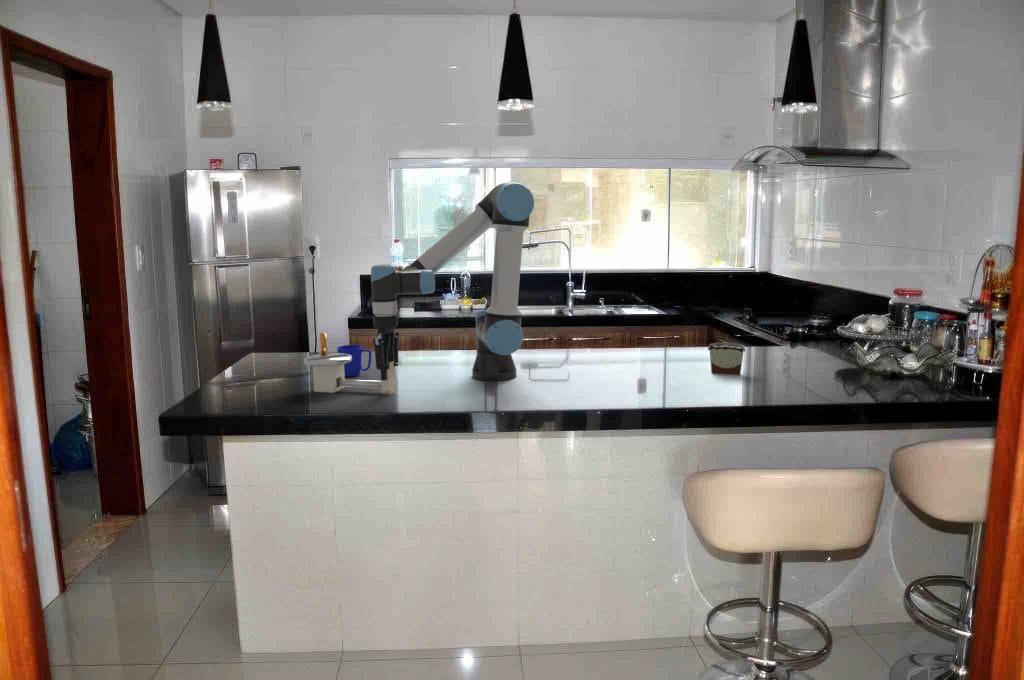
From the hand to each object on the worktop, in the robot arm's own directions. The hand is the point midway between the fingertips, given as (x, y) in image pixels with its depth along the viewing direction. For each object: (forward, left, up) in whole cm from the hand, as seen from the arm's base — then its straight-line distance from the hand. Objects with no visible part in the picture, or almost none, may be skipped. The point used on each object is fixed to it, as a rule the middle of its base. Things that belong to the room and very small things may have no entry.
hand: (388, 388), depth 246 cm
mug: (+23, -21, -2) cm, 31 cm away
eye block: (+21, 0, -2) cm, 21 cm away
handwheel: (+21, 0, +8) cm, 22 cm away
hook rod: (+11, 0, -2) cm, 11 cm away
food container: (-101, -52, -2) cm, 114 cm away
